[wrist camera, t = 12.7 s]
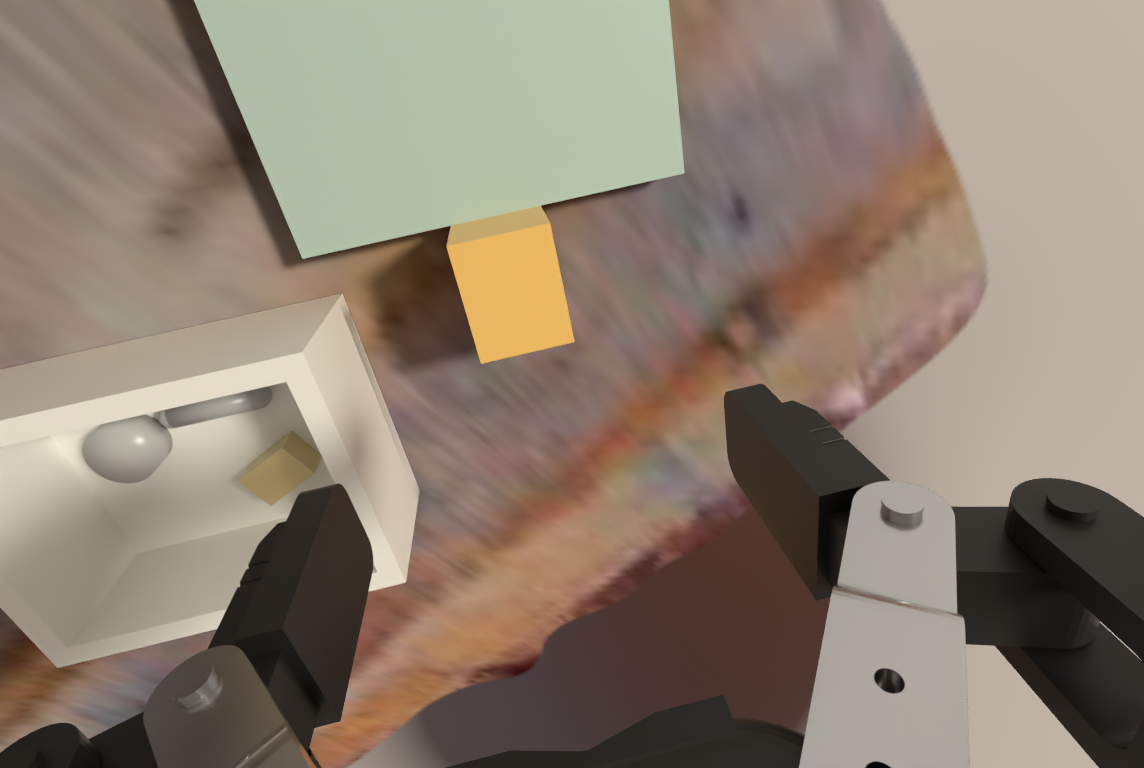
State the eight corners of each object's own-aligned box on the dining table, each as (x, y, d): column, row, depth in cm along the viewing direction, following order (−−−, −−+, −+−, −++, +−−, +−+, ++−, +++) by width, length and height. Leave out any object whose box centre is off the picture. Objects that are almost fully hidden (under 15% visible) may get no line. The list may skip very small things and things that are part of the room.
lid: (353, 345, 29) (326, 399, 24) (169, -110, 20) (64, -178, 15) (681, 269, 29) (723, 306, 24) (633, -202, 21) (683, -297, 16)
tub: (138, 557, 32) (57, 667, 26) (-1, 369, 27) (-146, 453, 20) (419, 490, 33) (405, 582, 27) (342, 293, 27) (302, 352, 21)
